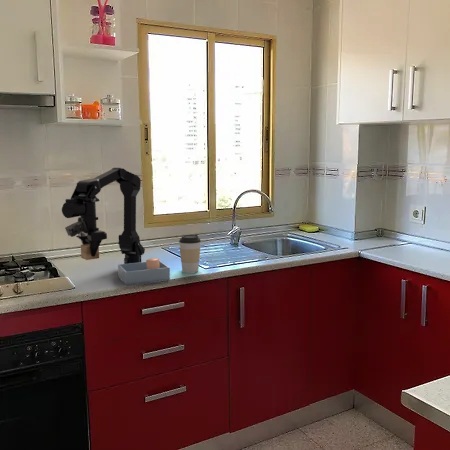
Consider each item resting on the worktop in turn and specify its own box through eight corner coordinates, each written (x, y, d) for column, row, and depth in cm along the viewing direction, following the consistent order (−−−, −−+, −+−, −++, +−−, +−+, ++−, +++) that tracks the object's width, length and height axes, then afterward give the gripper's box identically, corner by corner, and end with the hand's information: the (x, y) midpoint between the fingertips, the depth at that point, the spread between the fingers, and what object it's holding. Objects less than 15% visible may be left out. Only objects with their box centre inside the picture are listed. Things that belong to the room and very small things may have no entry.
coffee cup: (183, 274, 205) (182, 238, 203) (176, 269, 213) (175, 234, 211) (204, 272, 209) (204, 236, 206) (196, 267, 217) (196, 232, 214)
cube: (93, 255, 195) (93, 243, 194) (99, 258, 191) (98, 245, 191) (81, 257, 192) (80, 244, 191) (86, 260, 188) (86, 247, 187)
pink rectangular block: (155, 274, 202) (154, 257, 201) (162, 276, 198) (161, 259, 197) (145, 277, 199) (143, 259, 198) (152, 279, 195) (150, 261, 194)
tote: (160, 272, 208) (159, 260, 208) (169, 280, 197) (169, 267, 196) (118, 276, 202) (118, 264, 201) (126, 285, 190) (125, 272, 189)
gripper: (57, 213, 191) (60, 254, 194) (77, 219, 177) (79, 263, 179) (85, 211, 198) (87, 250, 201) (106, 216, 184) (108, 258, 186)
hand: (90, 255), depth 192 cm, fingers closed on cube, 5 cm apart
